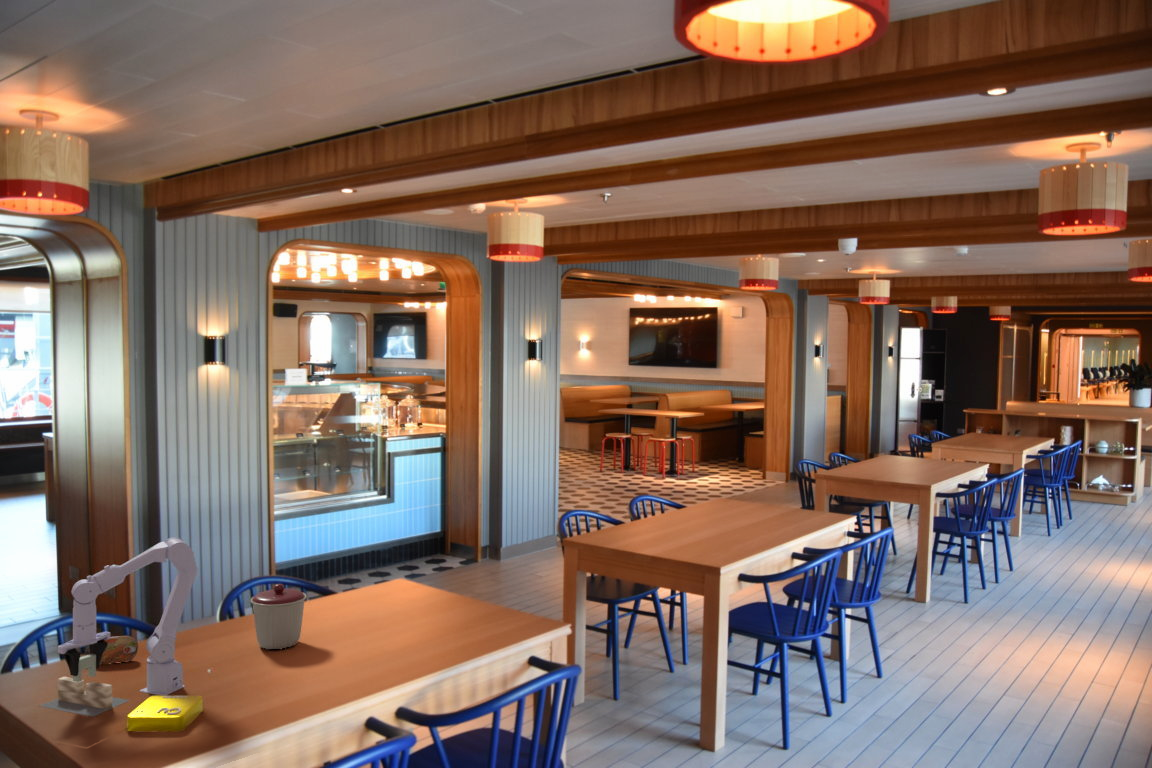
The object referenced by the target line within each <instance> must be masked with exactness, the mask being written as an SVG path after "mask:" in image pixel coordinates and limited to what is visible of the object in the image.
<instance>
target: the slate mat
mask: <svg viewBox="0 0 1152 768" xmlns="http://www.w3.org/2000/svg"><path fill="white" fill-rule="evenodd" d="M128 702H130V699H124V698H121V697H114V696H112V707H110V708H108V709H103V708H98V707H92V706H87V705H82V704H77V703H72V702H66V701H61V700H58V698H56V699H53V700H51V701H47V702H45V703H43V704H41V705H39V707H42V708H45V709H46V708H47V709H52V710H55V711H62V712H67V713H72V714H78V715H82V716H88V717H96V716H98V715H100V714H102V713H105V712H107V711H109V710H112V709H115V708H116V707H118V706H121V705H123V704H125V703H128Z"/></svg>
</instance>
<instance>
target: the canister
mask: <svg viewBox="0 0 1152 768" xmlns="http://www.w3.org/2000/svg"><path fill="white" fill-rule="evenodd" d="M307 597H308V596H307V594H306V593H305V592H302V590H299V589H296V588H295V589H294V588H285V585H284V584H282V583H277V584H274V585H273V588H272V589H268V590H265V591H261V592H258V593H256V594H255V595H254V596H252V597H251V598H250V603H251V604H252V609H253V610H252V611H253V619H254V620H253V621H254V627H255V635H256V640H257V643H258V645H259V646H260V648H262V649H264V648H265V649H264V650H269V649H280V650H282V649H281V648H285V649H287V648H286V647H289V648H292V647H294V646H295V645H297V644H298V642H299V641H300V639H301V632H302V627H303V626H302V624H303V616H304V608H305V600H306V599H307ZM293 645H294V646H293ZM291 646H292V647H291Z"/></svg>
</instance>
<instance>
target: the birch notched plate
mask: <svg viewBox="0 0 1152 768" xmlns="http://www.w3.org/2000/svg"><path fill="white" fill-rule="evenodd" d="M112 697H113V685H112V684H109V683H102V682H97V681H89V682H87V683H85V680H84V679H82V681H79V682H75V681H73V677H68V676H62V677H59V678H57V699H58V700H61V701H66V702H72V703H77V704H82V705H87V706H92V707H98V708H103V709H108V708H110V707H112Z"/></svg>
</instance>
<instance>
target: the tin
mask: <svg viewBox="0 0 1152 768" xmlns="http://www.w3.org/2000/svg"><path fill="white" fill-rule="evenodd" d="M105 641H106V642H108V645H107V647H106V649H105V650H104V652H103V655H102V657H101V660H100V664H108V665H110V664H109V663H116V662H126V661H127V663H129V662H131V661H133V659H134V658H135V657H136V655H138V654H137V653H138V651H139V643H138V641H137V639H135V638H134V637H133V636H130V635H118V636H117V635H116V636H110V639H108V640H105ZM84 651H85V652H84V656H86V655H89V654H90V649H89V645H87V646H85V649H84Z"/></svg>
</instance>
